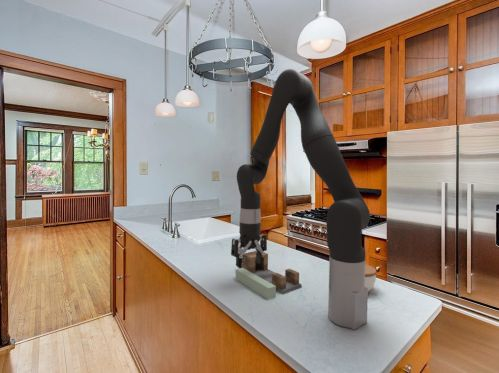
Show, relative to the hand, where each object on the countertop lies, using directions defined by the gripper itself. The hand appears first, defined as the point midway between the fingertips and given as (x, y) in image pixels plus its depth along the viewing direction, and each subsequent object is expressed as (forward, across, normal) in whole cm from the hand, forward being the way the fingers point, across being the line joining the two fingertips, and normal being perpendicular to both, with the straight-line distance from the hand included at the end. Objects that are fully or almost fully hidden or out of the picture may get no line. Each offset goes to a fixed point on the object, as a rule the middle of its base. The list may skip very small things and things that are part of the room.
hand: (249, 265), depth 95 cm
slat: (+7, 0, -3) cm, 8 cm away
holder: (+7, +9, -1) cm, 11 cm away
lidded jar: (+7, +28, -26) cm, 39 cm away
